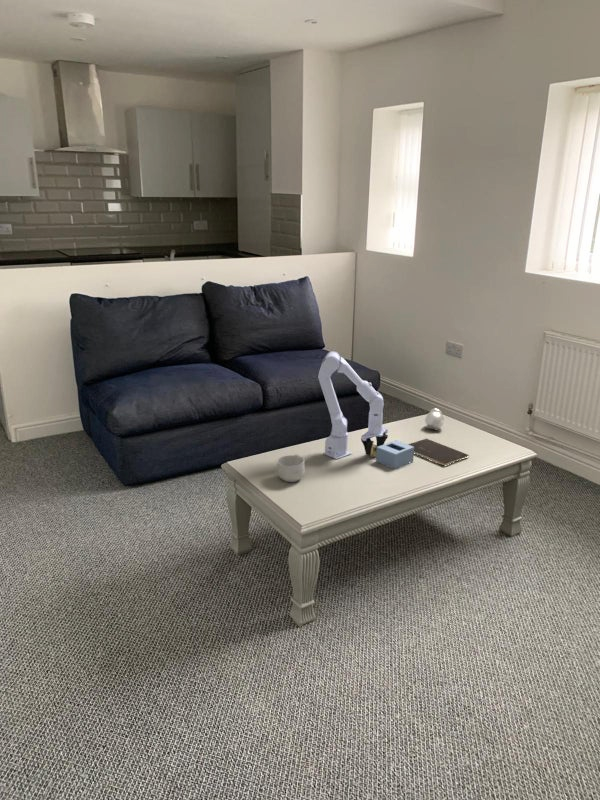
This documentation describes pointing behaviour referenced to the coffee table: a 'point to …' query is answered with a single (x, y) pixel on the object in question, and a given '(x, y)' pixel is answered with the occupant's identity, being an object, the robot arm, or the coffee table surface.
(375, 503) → the coffee table surface
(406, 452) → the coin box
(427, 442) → the hardcover book
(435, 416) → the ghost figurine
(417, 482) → the coffee table surface
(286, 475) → the teacup
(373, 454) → the tan wooden block
